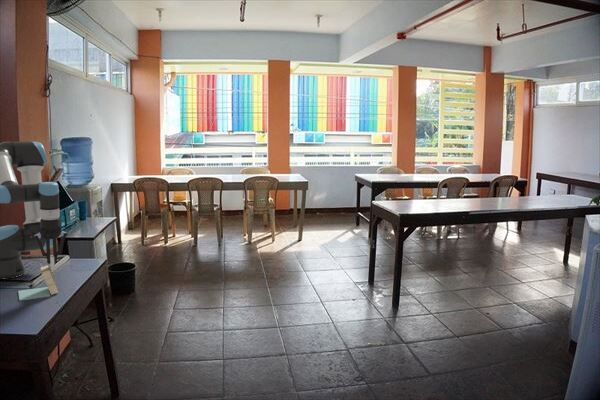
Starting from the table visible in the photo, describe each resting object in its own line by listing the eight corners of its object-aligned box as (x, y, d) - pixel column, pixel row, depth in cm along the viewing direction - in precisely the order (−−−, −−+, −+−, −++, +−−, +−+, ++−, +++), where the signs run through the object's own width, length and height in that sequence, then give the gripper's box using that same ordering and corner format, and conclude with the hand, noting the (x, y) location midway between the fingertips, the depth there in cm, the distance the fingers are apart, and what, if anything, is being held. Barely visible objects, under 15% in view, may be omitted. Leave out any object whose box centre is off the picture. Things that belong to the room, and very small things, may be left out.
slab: (49, 288, 212) (40, 267, 208) (57, 285, 214) (48, 264, 210) (51, 295, 206) (41, 273, 202) (59, 292, 207) (49, 270, 203)
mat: (18, 291, 207) (18, 290, 207) (47, 287, 213) (47, 286, 213) (19, 300, 198) (19, 299, 198) (50, 296, 204) (50, 295, 204)
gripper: (33, 221, 197) (36, 275, 201) (68, 218, 204) (70, 270, 208) (32, 217, 203) (34, 269, 207) (65, 215, 210) (67, 265, 214)
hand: (52, 270), depth 208 cm, fingers closed
